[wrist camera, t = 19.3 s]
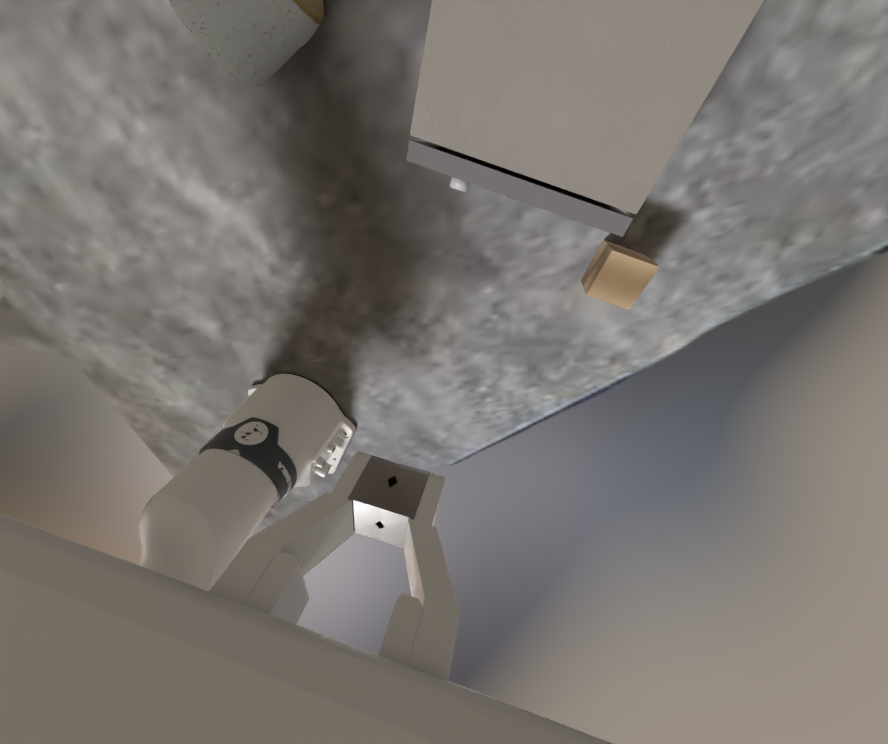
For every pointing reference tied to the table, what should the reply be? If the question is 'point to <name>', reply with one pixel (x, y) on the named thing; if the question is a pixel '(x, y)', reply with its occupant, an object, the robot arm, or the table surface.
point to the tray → (517, 186)
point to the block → (618, 275)
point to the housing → (573, 85)
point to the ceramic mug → (250, 32)
